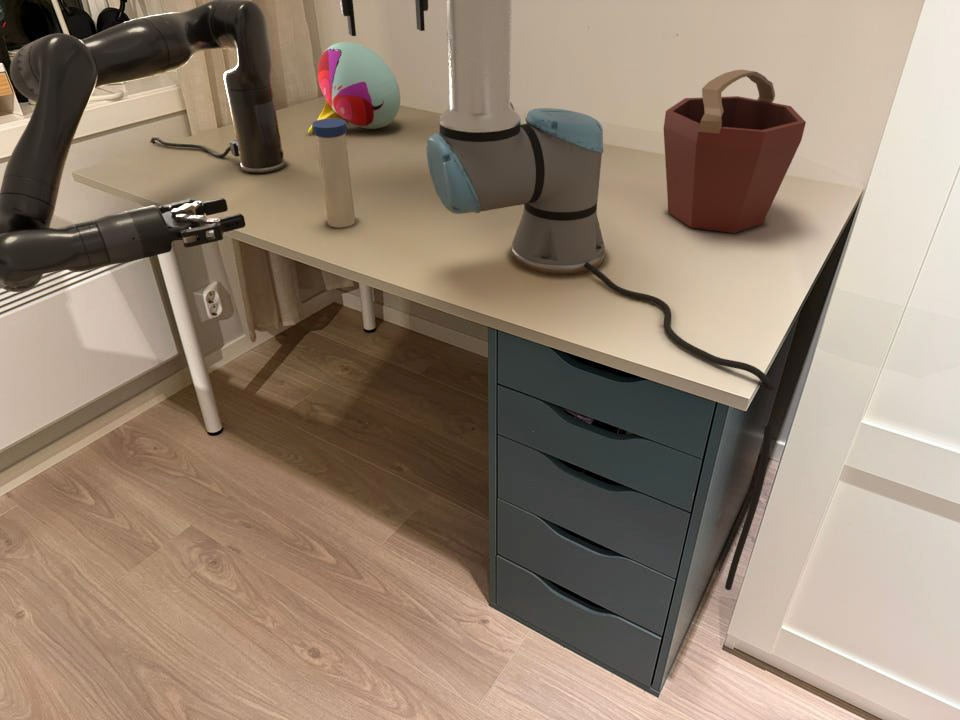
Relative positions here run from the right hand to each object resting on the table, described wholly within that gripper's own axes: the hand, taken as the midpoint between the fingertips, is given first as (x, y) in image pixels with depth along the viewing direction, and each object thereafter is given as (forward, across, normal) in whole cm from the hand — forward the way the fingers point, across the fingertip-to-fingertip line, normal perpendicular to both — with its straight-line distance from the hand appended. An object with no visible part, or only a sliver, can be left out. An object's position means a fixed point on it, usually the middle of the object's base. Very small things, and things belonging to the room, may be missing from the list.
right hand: (387, 32), depth 136 cm
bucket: (+28, -48, +45) cm, 71 cm away
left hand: (+21, +35, +26) cm, 48 cm away
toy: (+28, +1, -37) cm, 47 cm away
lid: (+10, +17, +21) cm, 29 cm away
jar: (+28, +17, +21) cm, 39 cm away
